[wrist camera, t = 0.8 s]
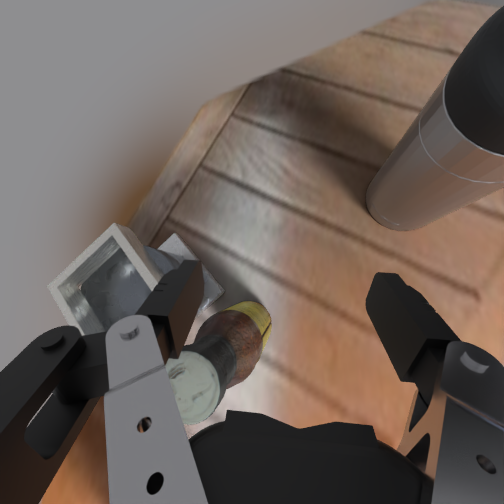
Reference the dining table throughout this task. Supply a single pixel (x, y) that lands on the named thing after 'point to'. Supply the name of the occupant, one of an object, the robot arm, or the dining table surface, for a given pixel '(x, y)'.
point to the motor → (120, 279)
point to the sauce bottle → (218, 359)
